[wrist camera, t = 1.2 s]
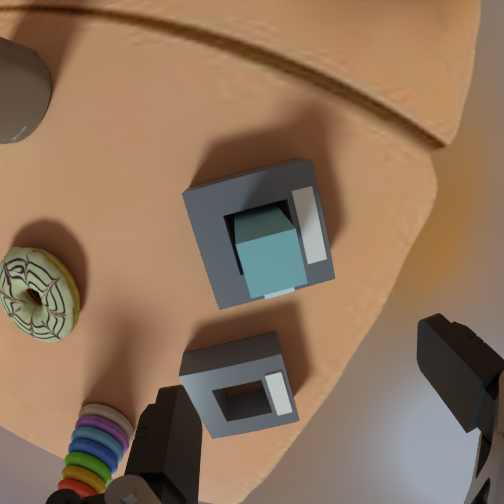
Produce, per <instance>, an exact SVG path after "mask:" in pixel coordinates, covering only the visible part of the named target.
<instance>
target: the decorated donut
mask: <svg viewBox="0 0 504 504" xmlns="http://www.w3.org/2000/svg"><path fill="white" fill-rule="evenodd" d="M31 289H34V290H36V291H38V293H39V294H40V297H41V299H38V298H37V297H36V296H35V295H34V294H33V292H32V290H31ZM79 301H80V296H79V291H78V288H77V286H76V283H75V280H74V278H73V276H72V274H71V272H70V271H69V270H68V268H67V267H66V266H65V265H64V263H63V262H62V261H61V260H60V259H58V258H57V257H56V256H55V255H53V254H51V253H49V252H48V251H46V250H43V249H41V248H35V247H26V248H22V247H18V246H17V247H13V248H12V249H11V250H9V251H8V253H7V254H6V256H5V257H4V259H3V260H2V262H1V264H0V303H1V305H2V306H3V308H4V309H5V311H6V312H7V314H8V316H9V317H10V318H11V319H12V321H13V322H14V323H15V325H16V326H17V327H18V328H19V329H20V330H22V331H23V332H25V333H26V334H28V335H29V336H31V337H32V338H34V339H38V340H40V341H44V342H50V343H54V342H58V341H59V340H61V339H64V338H65V337H66V336H67V335H68V334H70V332H71V331H72V330H73V329H74V328H75V326H76V325H77V322H78V319H79V310H80V303H79Z"/></svg>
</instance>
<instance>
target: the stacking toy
mask: <svg viewBox="0 0 504 504" xmlns="http://www.w3.org/2000/svg"><path fill="white" fill-rule="evenodd" d="M133 435H134V431H133V428H132V425H131V424H130V422H129V421H128V420H127V418H126V417H124V416H123V415H122V414H121V413H120V412H118V411H116V410H115V409H113V408H111V407H108V406H105V405H101V404H88V405H86V406H84V407H83V408H82V409H81V410H80V412H79V414H78V421H77V422H76V425H75V430H74V431H73V433H72V436H71V441H72V442H71V443H70V445H69V448H68V452H69V454H68V455H67V456H66V458H65V468H64V469H63V471H62V477H63V480H61V481H60V482H59V484H58V490H60V489H71V490H74V491H75V492H76V493H77V494H79V495H80V496H81V497H87V496H92V495H96V494H101V493H105V491H106V485H107V484H108V483H110V481H111V475H112V474H113V473H115V472H116V470H117V468H118V463H119V462H120V461H121V460H122V458H123V454H124V453H126V451H127V450H128V447H129V443H130V442H131V441H132V439H133Z"/></svg>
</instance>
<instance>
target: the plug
mask: <svg viewBox="0 0 504 504" xmlns="http://www.w3.org/2000/svg"><path fill="white" fill-rule="evenodd" d="M234 223H235V243H236V248H237V251H238V255H239V258H240V262H241V265H242V268H243V272H244V275H245V279H246V282H247V286H248V289H249V292H250V296H251V299H252V298H256V297H259V296H263V295H264V296H265V299H268V298H272V297H276V296H280V295H283V294H287V293H291V292H294V291H295V290H294V287H296V286H300V285H304V284H307V278H306V273H305V269H304V264H303V259H302V255H301V250H300V246H299V241H298V237H297V232H296V228H295V227H294V226H293V225H292V223H291V222H290V221H289V220H288V219H287V217H286V216H285V215H284V214H283V212H282V211H281V210H280V209H279V208H278V206H277V205H276V204H275V203H274V202H273V203H269V204H265V205H261V206H258V207H254V208H250V209H246V210H243V211H239V212H235V213H234Z"/></svg>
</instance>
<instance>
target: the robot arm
mask: <svg viewBox="0 0 504 504" xmlns="http://www.w3.org/2000/svg"><path fill="white" fill-rule="evenodd" d="M50 94H51V79H50V74H49V72H48V69H47V67H46V66H45V65H44V63H43V62H41V61H40V60H38V59H37V58H36V57H35V52H34V50H32V49H30V48H27V47H25V46H22V45H20V44H17V43H15V42H12V41H10V40H7V39H5V38H2V37H0V144H6V143H14V142H18V141H21V140H23V139H25V138H26V137H27V136H29V135H30V134H31V133H32V132H33V131H34V130H35V129H36V128H37V126H38V125H39V123H40V122H41V120H42V118H43V116H44V114H45V112H46V110H47V107H48V104H49V100H50ZM417 336H418V337H417V362H418V366H419V368H420V370H421V372H422V373H423V374H424V376H425V377H426V378H427V380H428V381H429V382H430V384H431V385H432V386H433V388H434V389H435V390H436V392H437V393H438V394H439V396H440V397H441V398H442V400H443V401H444V403H445V404H446V405H447V407H448V408H449V409H450V411H451V412H452V414H453V415H454V416H455V418H456V419H457V420H458V422H459V423H460V425H461V426H462V427H463V429H464V430H465V432H466V433H468V432H470V431H472V430H473V429H475V428H477V427H478V428H479V430H480V431H481V433H480V436H479V442H478V449H477V455H476V461H475V467H474V472H473V477H472V482H471V485H470V489H469V491H468V494H467V496H466V499H465V501H464V504H504V359H502V358H501V357H500V356H499V355H498V354H497V353H496V352H495V351H494V350H493V349H492V348H491V347H490V346H488V345H487V344H486V343H484V341H483V340H482V339H481V338H480V337H478V336H476V334H475V333H474V332H473V331H472V330H471V329H470V328H468V327H467V326H465V325H462V324H459V323H457V322H453V323H450V322H449V321H448V320H447V319H446V318H445V317H444V316H443V315H441V314H440V313H437V314H435V315H433V316H430V317H427V318H425V319H422V320H420V321H419V322H418V333H417ZM134 437H135V439H134V440H133V443H132V447H131V451H130V454H129V458H128V462H127V466H126V470H125V473H124V476H121V477H118V478H116V479H115V480H113V481H112V482H111V483H110V484H109V485H108V487H107V489H106V491H105V493H101V494H96V495H92V496H87V497H81V496H80V495H79V494H77V493H76V492H75V491H74V490H71V489H60V490H58V491H55V492H54V493H53V494H51V495H50V497H49V498H48V499H47V501H46V504H198V491H199V474H200V459H201V445H202V423H201V419H200V416H199V414H198V412H197V410H196V408H195V407H194V405H193V403H192V401H191V399H190V397H189V395H188V393H187V391H186V389H185V387H184V386H183V385H176V386H170V387H163V388H160V389H159V391H158V395H157V398H156V402H155V404H149V405H148V406H147V407H146V409H145V410H144V411H143V413H142V414H141V415H140V419H139V422H138V426H137V430H136V433H135V436H134Z"/></svg>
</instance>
